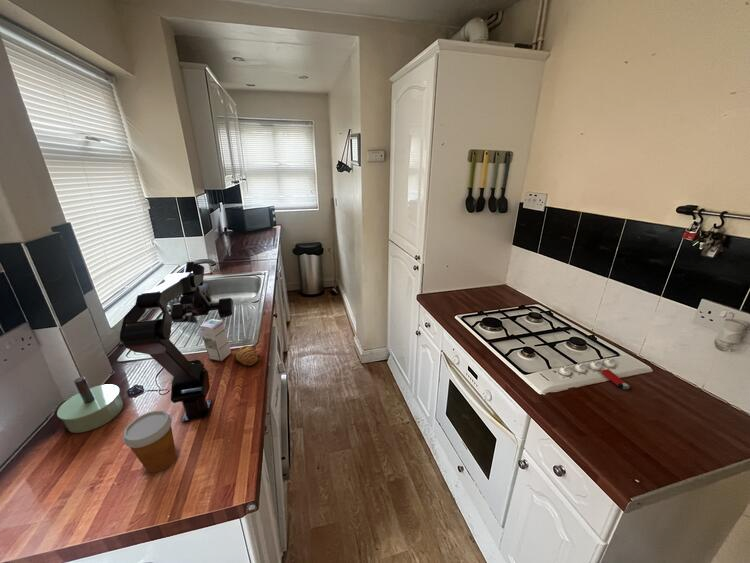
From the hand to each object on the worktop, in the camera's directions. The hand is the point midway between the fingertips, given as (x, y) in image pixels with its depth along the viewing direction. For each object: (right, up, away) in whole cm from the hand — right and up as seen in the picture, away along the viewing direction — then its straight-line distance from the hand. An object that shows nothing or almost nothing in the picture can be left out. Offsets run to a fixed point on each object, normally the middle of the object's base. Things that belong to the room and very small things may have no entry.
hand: (210, 320), depth 110 cm
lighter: (+137, -18, -12) cm, 138 cm away
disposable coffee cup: (+6, -31, -35) cm, 47 cm away
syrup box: (+1, -14, +5) cm, 15 cm away
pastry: (+12, -15, +3) cm, 20 cm away
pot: (-23, -25, -20) cm, 40 cm away
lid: (-23, -21, -22) cm, 38 cm away
